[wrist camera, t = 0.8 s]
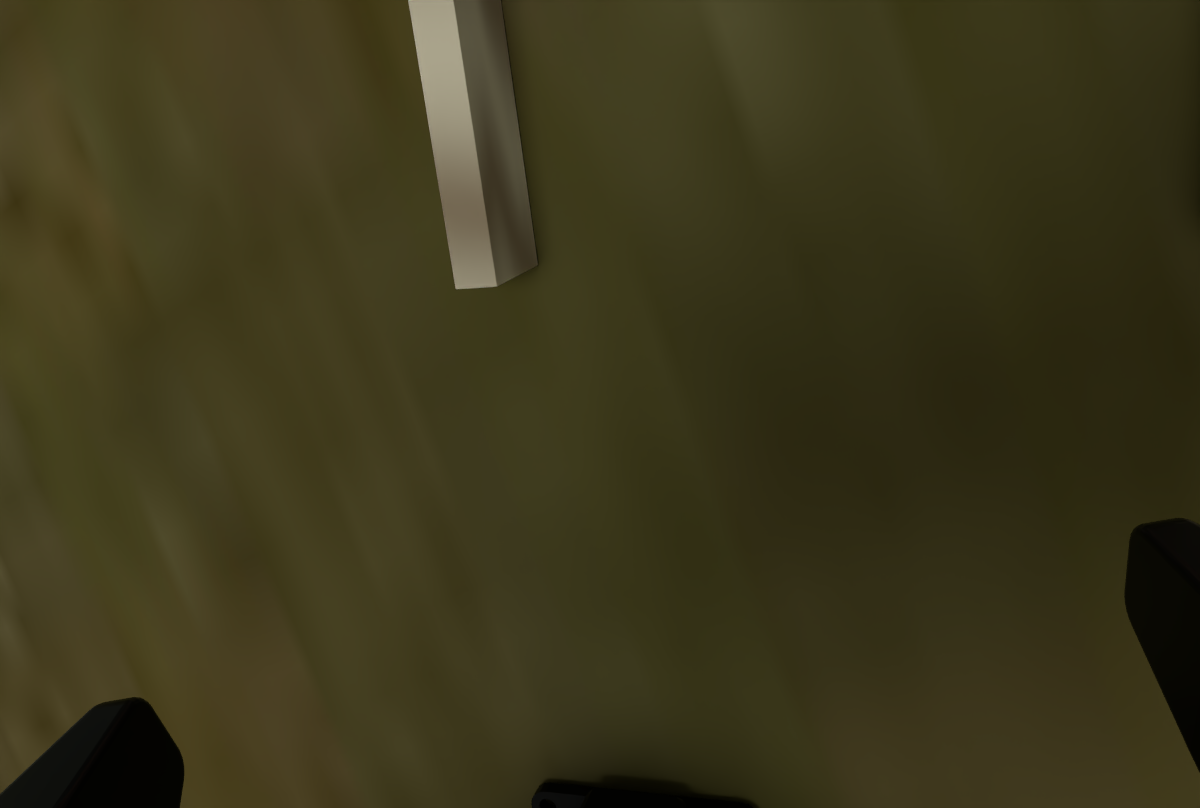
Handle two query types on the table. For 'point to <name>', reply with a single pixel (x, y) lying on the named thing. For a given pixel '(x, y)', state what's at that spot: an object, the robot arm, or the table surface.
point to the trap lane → (475, 139)
